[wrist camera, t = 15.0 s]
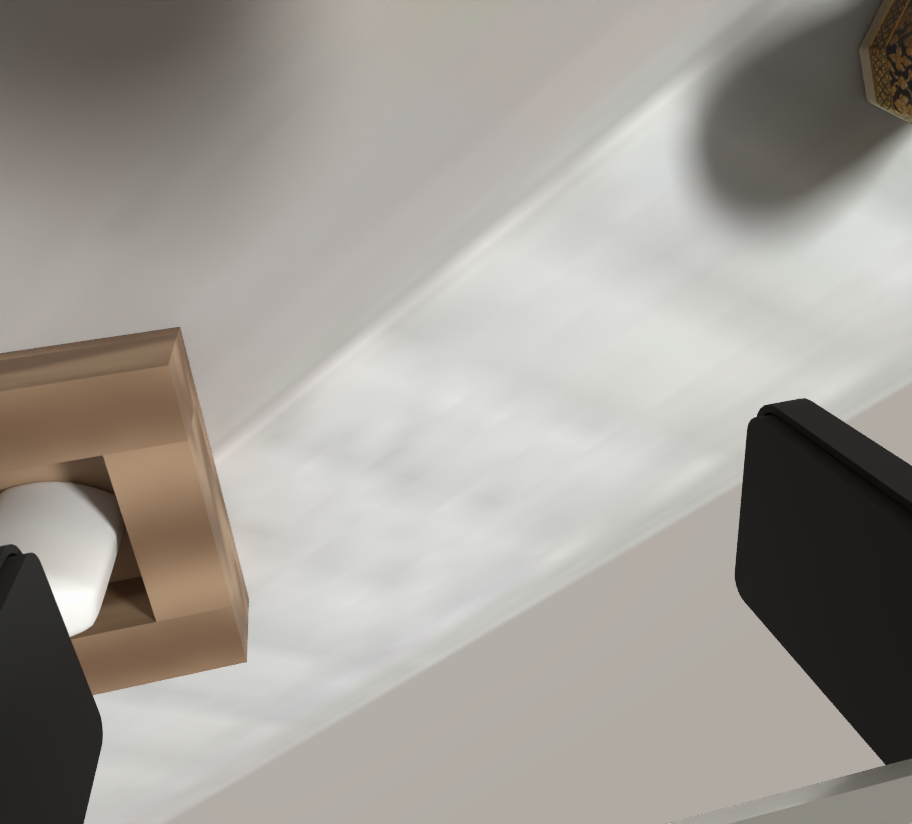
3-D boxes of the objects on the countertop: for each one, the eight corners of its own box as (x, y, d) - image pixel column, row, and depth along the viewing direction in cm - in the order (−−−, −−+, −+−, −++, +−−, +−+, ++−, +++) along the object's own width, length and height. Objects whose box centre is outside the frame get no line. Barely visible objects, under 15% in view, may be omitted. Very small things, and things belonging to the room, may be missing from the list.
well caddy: (-150, 375, 34) (-211, 424, 30) (180, 326, 37) (168, 365, 32) (-22, 654, 41) (-56, 727, 37) (248, 599, 43) (246, 661, 39)
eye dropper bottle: (92, 568, 40) (28, 759, 29) (-18, 514, 37) (-131, 701, 27) (142, 506, 39) (95, 679, 28) (33, 447, 36) (-64, 612, 26)
